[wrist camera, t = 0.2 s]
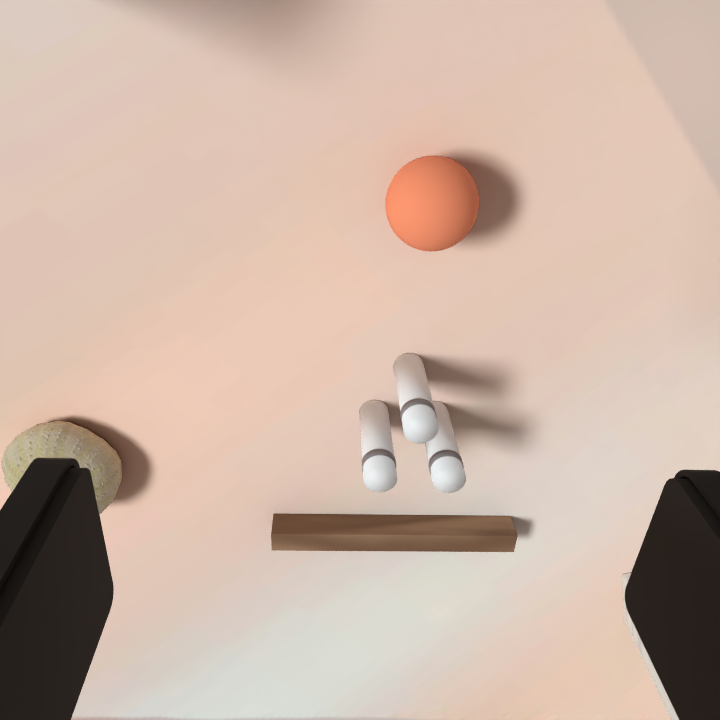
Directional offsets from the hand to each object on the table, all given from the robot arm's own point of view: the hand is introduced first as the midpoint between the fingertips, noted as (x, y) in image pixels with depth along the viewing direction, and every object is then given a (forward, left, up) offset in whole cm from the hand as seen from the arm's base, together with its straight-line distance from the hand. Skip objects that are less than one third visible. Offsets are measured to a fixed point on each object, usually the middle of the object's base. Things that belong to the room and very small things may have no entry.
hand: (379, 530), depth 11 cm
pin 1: (+23, +3, -36) cm, 43 cm away
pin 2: (+23, +8, -36) cm, 43 cm away
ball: (+4, +6, -33) cm, 34 cm away
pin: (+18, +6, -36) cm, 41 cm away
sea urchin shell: (+28, -22, -36) cm, 51 cm away
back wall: (+35, +6, -36) cm, 51 cm away
